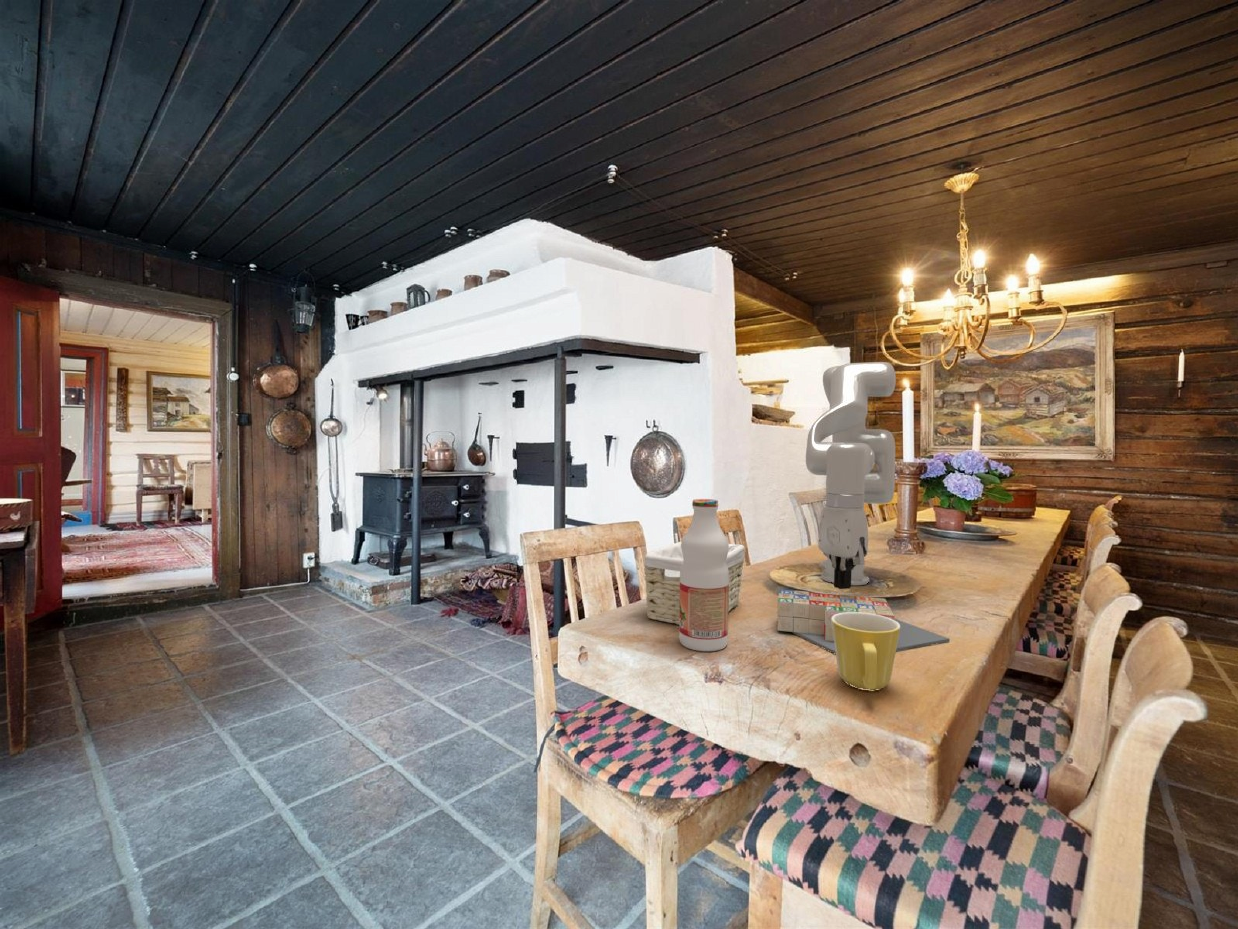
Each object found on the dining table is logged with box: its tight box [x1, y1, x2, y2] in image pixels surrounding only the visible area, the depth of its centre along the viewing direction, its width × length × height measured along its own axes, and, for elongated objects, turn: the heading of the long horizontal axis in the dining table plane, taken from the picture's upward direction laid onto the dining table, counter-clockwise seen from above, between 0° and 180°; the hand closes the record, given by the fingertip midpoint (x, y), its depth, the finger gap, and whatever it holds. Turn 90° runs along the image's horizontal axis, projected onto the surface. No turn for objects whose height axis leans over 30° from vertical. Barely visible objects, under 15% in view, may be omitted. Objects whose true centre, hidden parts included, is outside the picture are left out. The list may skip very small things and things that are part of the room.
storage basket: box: [643, 540, 745, 625], centre depth 127 cm, size 24×16×15 cm
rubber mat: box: [792, 617, 950, 655], centre depth 112 cm, size 15×26×1 cm, turn 112°
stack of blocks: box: [777, 589, 895, 641], centre depth 113 cm, size 21×6×12 cm
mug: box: [831, 612, 900, 690], centre depth 89 cm, size 14×10×10 cm
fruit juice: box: [678, 498, 729, 652], centre depth 107 cm, size 9×9×28 cm
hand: (842, 587), depth 118 cm, fingers closed
